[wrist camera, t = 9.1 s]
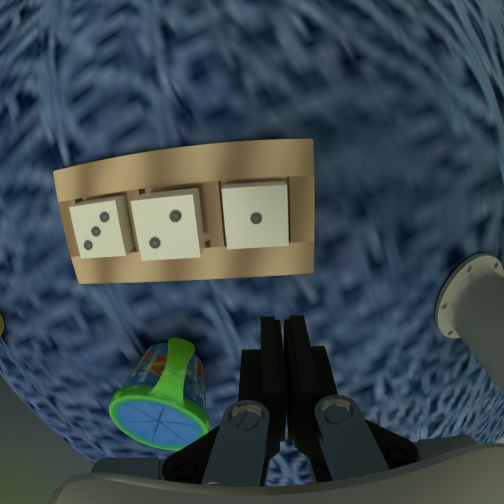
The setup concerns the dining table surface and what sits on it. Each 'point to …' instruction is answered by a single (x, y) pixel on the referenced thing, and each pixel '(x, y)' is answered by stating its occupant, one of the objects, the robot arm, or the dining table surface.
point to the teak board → (210, 190)
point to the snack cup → (164, 397)
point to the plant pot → (1, 324)
